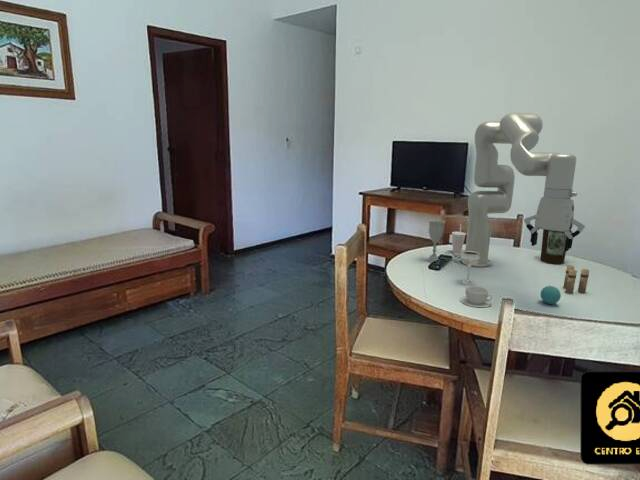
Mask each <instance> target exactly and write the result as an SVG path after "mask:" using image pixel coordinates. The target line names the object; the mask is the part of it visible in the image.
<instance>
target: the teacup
mask: <svg viewBox="0 0 640 480" xmlns="http://www.w3.org/2000/svg"><path fill="white" fill-rule="evenodd" d="M488 297H490V298H489V299H488ZM459 300H460V302H461V303H463V304H464V305H467V306H471V307H475V308H476V307H477V308H487V307H490V306H492V304H493V303H492V301H491V300H493V295H492V294H491V293H490V290H489V289H487V288H485V287H483V286H478V285H468V286H466V287H465V295H464V296H461V297H460V299H459Z"/></svg>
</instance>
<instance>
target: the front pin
mask: <svg viewBox="0 0 640 480" xmlns="http://www.w3.org/2000/svg"><path fill="white" fill-rule="evenodd" d="M577 273H578V270H576V269H574V270H573V269H569V274H568V280H567V285H566V289H565V293H566V294H567V295H574V290H575V283H576V279H577Z"/></svg>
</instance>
